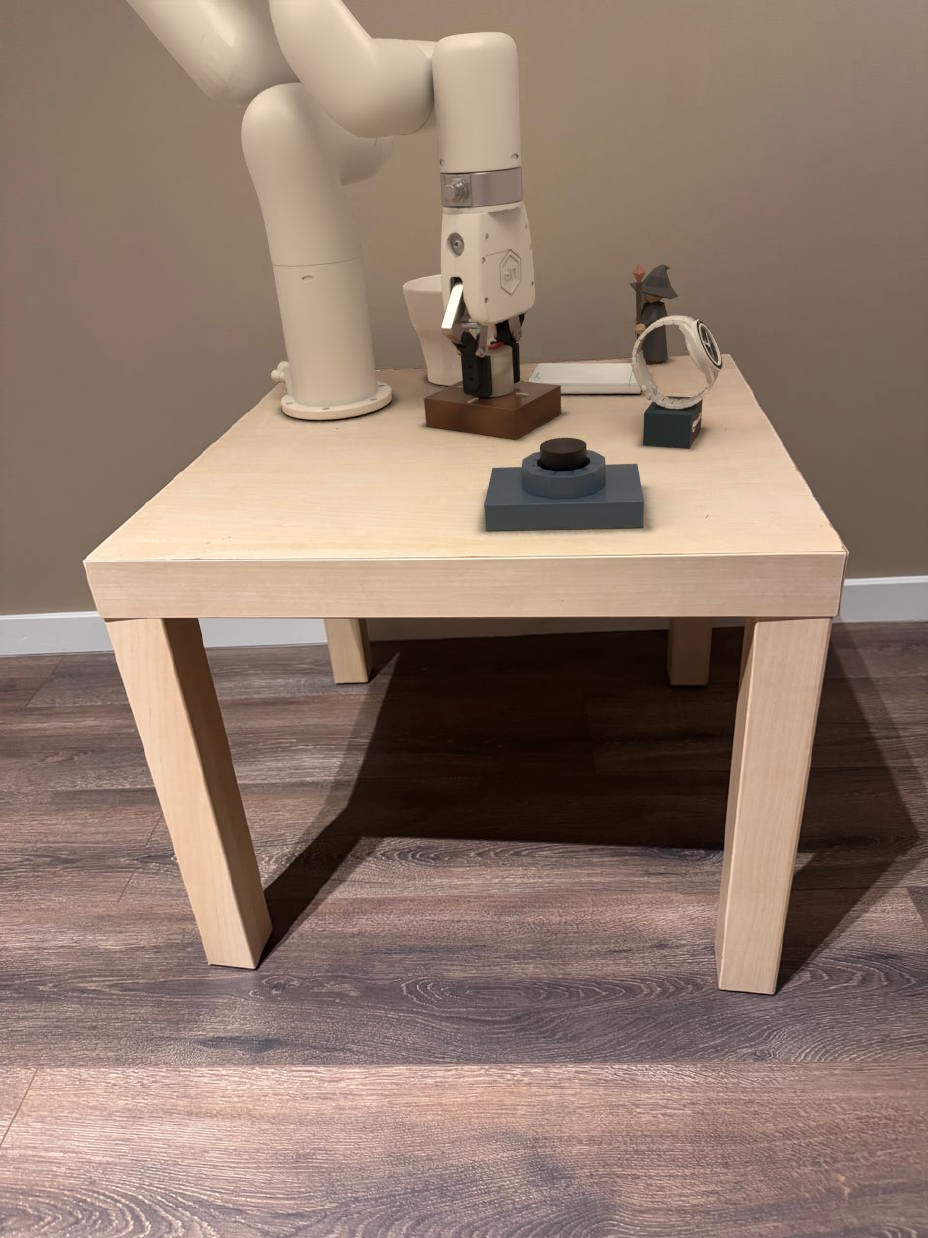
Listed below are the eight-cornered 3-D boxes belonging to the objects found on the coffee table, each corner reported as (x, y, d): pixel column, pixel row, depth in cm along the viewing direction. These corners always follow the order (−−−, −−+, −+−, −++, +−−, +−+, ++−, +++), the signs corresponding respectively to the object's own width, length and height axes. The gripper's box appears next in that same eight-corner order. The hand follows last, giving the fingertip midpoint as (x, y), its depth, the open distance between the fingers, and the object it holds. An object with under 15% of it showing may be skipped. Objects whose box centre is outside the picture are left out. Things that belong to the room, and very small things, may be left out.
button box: (485, 531, 70) (482, 482, 68) (493, 492, 77) (491, 446, 75) (643, 527, 68) (644, 478, 66) (636, 488, 75) (638, 442, 73)
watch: (711, 449, 82) (719, 325, 76) (624, 444, 85) (626, 323, 79) (721, 430, 86) (730, 311, 81) (638, 425, 89) (641, 310, 84)
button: (539, 475, 69) (539, 453, 69) (541, 459, 73) (540, 438, 72) (586, 474, 69) (586, 452, 68) (586, 457, 72) (586, 436, 71)
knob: (498, 399, 90) (496, 353, 88) (462, 394, 92) (459, 349, 90) (521, 387, 93) (520, 343, 91) (486, 383, 95) (484, 339, 93)
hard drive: (526, 381, 100) (640, 380, 97) (538, 362, 107) (645, 360, 104) (527, 396, 101) (640, 395, 98) (539, 376, 108) (644, 374, 105)
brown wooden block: (426, 426, 94) (423, 396, 92) (474, 402, 100) (472, 373, 99) (516, 439, 88) (515, 408, 87) (561, 413, 94) (560, 383, 93)
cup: (415, 366, 116) (406, 275, 110) (512, 360, 115) (508, 268, 109) (407, 393, 105) (396, 294, 99) (514, 387, 104) (509, 287, 99)
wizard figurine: (629, 355, 113) (631, 253, 107) (674, 354, 112) (679, 251, 106) (627, 373, 106) (629, 265, 100) (676, 372, 105) (681, 262, 99)
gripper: (462, 202, 76) (476, 415, 85) (562, 181, 87) (565, 370, 96) (393, 203, 80) (413, 406, 89) (497, 182, 91) (505, 364, 100)
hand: (492, 386), depth 92 cm, fingers closed on knob, 4 cm apart
